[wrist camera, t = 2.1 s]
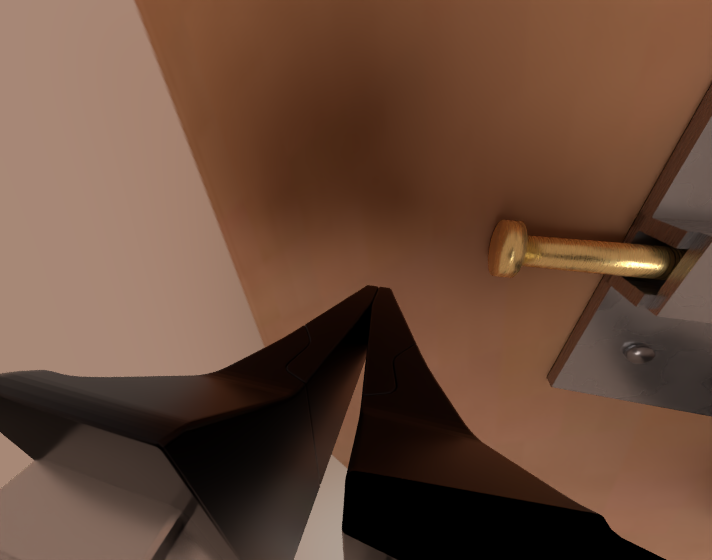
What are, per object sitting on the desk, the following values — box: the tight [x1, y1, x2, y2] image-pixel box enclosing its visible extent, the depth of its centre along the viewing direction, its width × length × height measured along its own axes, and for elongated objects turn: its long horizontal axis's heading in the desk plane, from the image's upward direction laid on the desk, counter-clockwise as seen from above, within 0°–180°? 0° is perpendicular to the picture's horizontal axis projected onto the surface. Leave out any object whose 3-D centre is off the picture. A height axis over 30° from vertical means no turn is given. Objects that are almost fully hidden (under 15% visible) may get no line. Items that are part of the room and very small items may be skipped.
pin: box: [488, 220, 688, 280], centre depth 12 cm, size 15×3×3 cm, turn 90°
